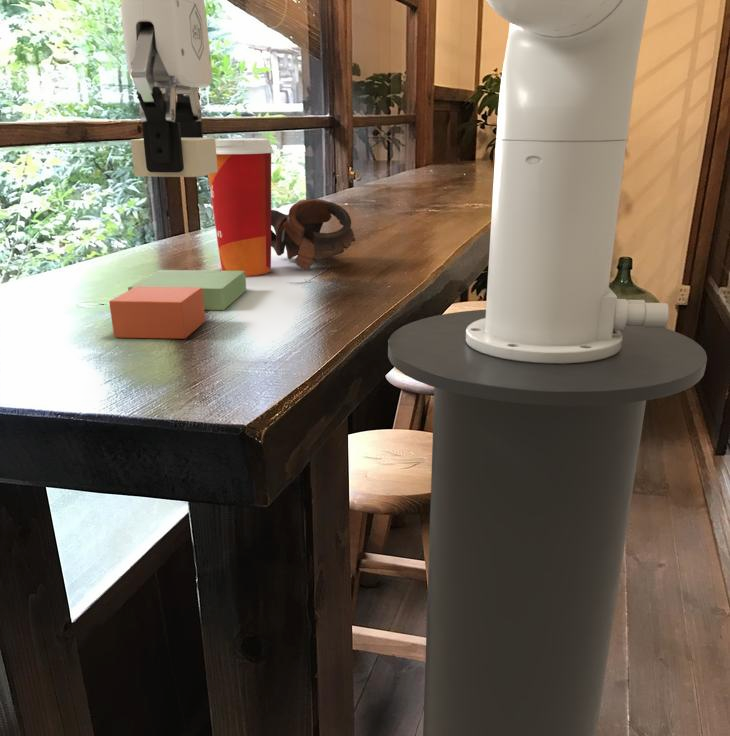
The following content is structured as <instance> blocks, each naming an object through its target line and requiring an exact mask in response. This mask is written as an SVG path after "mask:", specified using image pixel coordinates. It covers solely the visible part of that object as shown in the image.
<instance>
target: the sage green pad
mask: <svg viewBox="0 0 730 736" xmlns="http://www.w3.org/2000/svg"><path fill="white" fill-rule="evenodd" d="M136 286H137V287H201V288H202V291H203V302H204V311H224V310H226V309H227V308H228V307H229V306H230V305H231V304H233V303H234V302H235V301H236V300H237V299H238V298H239V297H241V296H242V295H243V294H244V293H245V292H246V291H247V282H246V276H245V271H222V270H207V269H205V270H203V269H202V270H200V269H199V270H198V269H159V270H157V271H155V272H153V273H151V274H150V275H147V276H146V277H144V278H142V279H141V280H139V281H137V282H135V283H133V284H131V285H130V286H128V287H127V291H128V290H130V289H132V288H134V287H136Z"/></svg>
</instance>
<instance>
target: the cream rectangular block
mask: <svg viewBox="0 0 730 736" xmlns="http://www.w3.org/2000/svg"><path fill="white" fill-rule="evenodd" d="M215 139H216V137H203V138H181V142H182V154H183V165H184V169H183V171H182V172H149V171H148V170H147V168H146V158H145V149H144V139H143V138H134V139H130V148H131V157H132V165H133V174H134V177H148V178H149V177H151V178H152V177H158V178H160V177H162V178H170V177H171V178H174V177H175V178H201V177H204V176H208V175H209V174H212V173H216V172H218V170H217V156H216V142H215Z"/></svg>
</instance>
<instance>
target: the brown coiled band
mask: <svg viewBox="0 0 730 736" xmlns="http://www.w3.org/2000/svg"><path fill="white" fill-rule="evenodd" d="M332 217H335V218H336V219H337V220H338V221H339V224H340V226H342V227H341V228H340V229H338V230H335V231H333V232H321V230H322V228H323V225H324V223H328V222H329V221H330V220H331V219H332ZM271 227H272V228H273V229H274V231H273V229H271V248H273V250H274V252H275V253H276V255H277V256H278V257H279V256H282V255H283V254H284V253H285V251H286V257H287V259H288V260H291V259H293V258H294V257H296V258H295V264H296V266H297V267H299V268H301V269H303V270H305V271H308V270H309V269H310V267H311V266H312V265H313V263H314V262H319V261H322V260H325V259H328V258H331V257H334V256H335V257H336V256H338V255H341V254H342V253H345V250H346V249H349V248H350V246H351V244H352V243H353V242H356V238H355V233H354V231H353V229H352V218H351V216H350V214H349V212H347V210H346V209H345V208H343V207H342V206H340V205H339V204H337V203H335V202H333V201H328V200H325V199H320V198H307V199H302V200H299V201H297V202H295V203H294V204H293V205H291V207H290V208H289V211H288V214H286V213H285V214H284V213H282V212H281V211H279V210H276V209H271Z"/></svg>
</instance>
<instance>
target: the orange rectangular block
mask: <svg viewBox="0 0 730 736" xmlns="http://www.w3.org/2000/svg"><path fill="white" fill-rule="evenodd" d="M108 303H109V309H110V317H111V324H112V332H113V337H114V338H117V339H118V338H119V339H166V340H167V339H170V340H185V339H187V338H188V337H189V336H190V335H192V334H193V332H195V331H196V330H197V329H198V328H200V326H202V325H203V324H204V323H205V322H206V314H205V313H206V312H205V310H204V302H203V291H202V288H201V287H137V286H136V287H134V288H132V289H130V290H128V289H127V291H125V292H123V293H121V294H120V295H118V296H116V297H114V298H113V299H111V300H109V301H108Z"/></svg>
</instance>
